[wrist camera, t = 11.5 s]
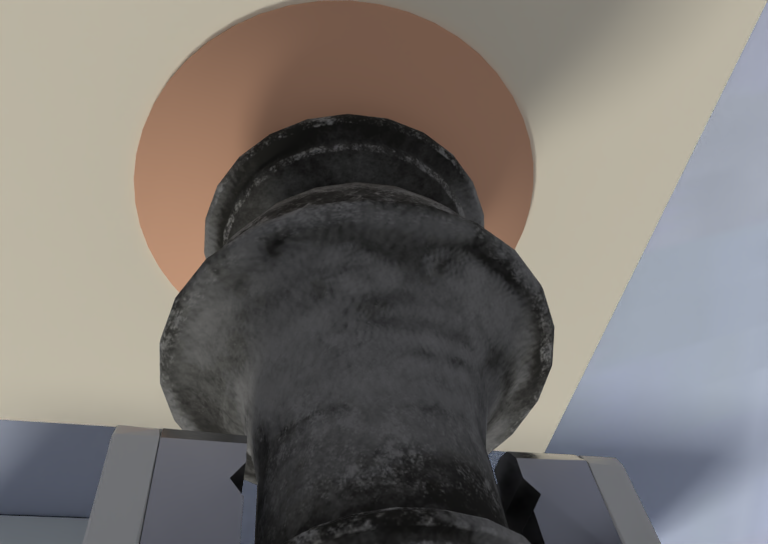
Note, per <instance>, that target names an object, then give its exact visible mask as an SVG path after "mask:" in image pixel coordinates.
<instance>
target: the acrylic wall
mask: <svg viewBox="0 0 768 544" xmlns="http://www.w3.org/2000/svg"><path fill="white" fill-rule="evenodd" d="M88 521H89V519H87V518H60V517H34V516H7V515H0V544H82V543H83V540H84V536H85V532H86V529H87V525H88Z"/></svg>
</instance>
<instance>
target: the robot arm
mask: <svg viewBox="0 0 768 544" xmlns="http://www.w3.org/2000/svg"><path fill="white" fill-rule="evenodd" d="M246 452H247V436H245V435H234V434H223V433H212V432H201V431H190V430H178V429H167V428H163V430H162V429H161V428H149V427H137V426H125V425H117V427H116V429H115V431H114V432H113V434H112V436H111V440H110V443H109V447H108V451H107V455H106V458H105V462H104V466H103V469H102V473H101V477H100V480H99V484H98V488H97V492H96V495H95V499H94V503H93V506H92V510H91V514H90V517H89V521H88V525H87V529H86V532H85V536H84V540H83V543H82V544H240V539H241V526H242V513H243V500H244V497H243V495H242V494H241V493H242V486H243V479H244V472H245V465H246ZM494 471H495V475H496V479H497V482H498V484H496V485H497V488H498V492H499V495H500V499H501V502H502V506H503V509H504V513H505V516H506V520H507V523H508V527H509V529H510V530H512V531H514V532H516V533H518V534H520V535H523V536H524V537H525V538H526V539H527V540H528V541H529V542H530V543H531V544H661V543H660V540H659V538H658V536H657V534H656V532H655V530H654V528H653V526H652V524H651V522H650V520H649V518H648V516H647V514H646V512H645V510H644V508H643V505H642V503H641V501H640V499H639V497H638V495H637V493H636V491H635V489H634V487H633V485H632V483H631V481H630V479H629V477H628V475H627V473H626V470H625V468H624V466H623V465H622V464H621V463H620V462H619V461H618V460H617V459H616V458H611V457H595V456H576V455H568V454H548V453H529V452H510V451H507V452H506V453H505V454H504V455H502V456H501V457H500V459H499V461H498V463H497V465H496V468H495V470H494Z"/></svg>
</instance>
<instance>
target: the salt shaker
mask: <svg viewBox="0 0 768 544" xmlns="http://www.w3.org/2000/svg"><path fill="white" fill-rule="evenodd" d="M204 254H205V258H206V260H205V261H204V262H203V263H202V265H201V266H200V267H199V268H198V270H197V271H196V272H195V273H194V275H193V276H192V277H191V279H190V280H189V281H188V282H187V284H186V285H185V286H184V287H183V289H182V290H181V291H180V292H179V294H178V295H177V296H176V297H175V300H174V303H173V306H172V308H171V311H170V314H169V317H168V319H167V322H166V325H165V328H164V330H163V333H162V336H161V339H160V343H159V345H160V385H161V388H162V390H163V393H164V395H165V398H166V401H167V403H168V406H169V408H170V411H171V413H172V416H173V419H174V420H175V422H176V423H177V424H178V425H179V427H180V428H181V429H182V430H190V431H201V432H212V433H223V434H234V435H245V436H247V452H246V465H245V472H244V480H247V481H249V482H252V483H254V484H256V485H257V504H256V525H255V544H531V543H530V542H529V541H528V540H527V539H526V538H525V537H524V536H523V535H520V534H518V533H516V532H514V531H512V530H510V529H509V527H508V523H507V520H506V516H505V513H504V509H503V506H502V502H501V499H500V495H499V492H498V488H497V485H496V481H495V478H494V474H493V471H492V467H491V464H490V460H489V457H488V454H489V453H491V452H492V451H493V450H494V449H495V448H497V447H498V446H499V445H500V444H502V443H503V442H504V441H505V440H506V439H508V438H509V437H510V436H511V435H512V434H513V433H514V432H515V430H516V429H517V428H518V427H519V425H520V424H521V423H522V421H523V420H524V419H525V417H526V416H527V415H528V413H529V412H530V411H531V409H532V408H533V407H534V406H535V404H536V403H537V402H538V400H539V397H540V395H541V392H542V390H543V387H544V385H545V382H546V380H547V377H548V375H549V372H550V370H551V367H552V362H553V345H554V329H555V327H554V324H553V320H552V317H551V314H550V310H549V307H548V304H547V300H546V297H545V294H544V290H543V288H542V286H541V284H540V283H539V281H538V280H537V279H536V277H535V276H534V275H533V273H532V272H531V271H530V269H529V268H528V267H527V265H526V264H525V263H524V261H523V260H522V259H521V257H520V256H519V254H518V253H517V252H516V250H514V249H513V248H511V247H510V246H509V245H507V244H506V243H504V242H503V241H502V240H500V239H499V238H497V237H496V236H495V235H493V234H492V233H490V232H489V231H487V230H486V229H485V228H484V213H483V210H482V207H481V204H480V201H479V198H478V195H477V192H476V189H475V186H474V184H473V181H472V180H471V179H470V177H469V176H468V174H467V173H466V172H465V170H464V169H463V168H462V166H461V165H460V164H459V162H458V161H457V159H456V158H455V157H454V155H453V154H452V153H450V152H449V151H448V150H446V149H445V148H444V147H442V146H441V145H440V144H438V143H437V142H436V141H434V140H433V139H432V138H430V137H429V136H428V135H426V134H425V133H424V132H421V131H419V130H416V129H414V128H411V127H408V126H406V125H403V124H401V123H398V122H396V121H393V120H391V119H388V118H380V117H371V116H363V115H354V114H342V115H335V116H327V117H320V118H312V119H306V120H304V121H301V122H299V123H296V124H294V125H291V126H289V127H286V128H284V129H281V130H279V131H276V132H274V133H271V134H269V135H268V136H267V137H265V138H264V139H263V140H261V141H260V142H259V143H257V144H256V145H255V146H253V147H252V148H251V149H249V150H248V151H247V152H245V153H244V154H243V155H241V156H240V157H239V158H238V159H237V160H236V162H235V163H234V164H233V166H232V167H231V168H230V170H229V171H228V172H227V174H226V175H225V176H224V178H223V179H222V180H221V182H220V183H219V184H218V185H217V188H216V191H215V193H214V196H213V199H212V202H211V204H210V207H209V210H208V213H207V216H206V219H205V241H204Z"/></svg>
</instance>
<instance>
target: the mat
mask: <svg viewBox="0 0 768 544" xmlns="http://www.w3.org/2000/svg"><path fill="white" fill-rule="evenodd" d="M766 2H767V0H0V420H16V421H32V422H47V423H63V424H79V425H95V426H110V427H117V425H125V426H137V427H149V428H161V429H162V430H163V428H167V429H178V430H182V429H181V428H180V427H179V425H178V424H177V423H176V422H175V420H174V419H173V416H172V413H171V411H170V408H169V406H168V403H167V401H166V398H165V395H164V393H163V390H162V388H161V385H160V345H159V343H160V339H161V336H162V333H163V330H164V328H165V325H166V322H167V319H168V317H169V314H170V311H171V308H172V306H173V303H174V300H175V297H176V296H177V295H178V294H179V292H180V291H181V290H182V289H183V287H184V286H185V285H186V284H187V282H188V281H189V280H190V279H191V277H192V276H193V275H194V273H195V272H196V271H197V270H198V268H199V267H200V266H201V265H202V263H203V262H204V261H205V260H206V258H205V254H204V241H205V219H206V216H207V213H208V210H209V207H210V204H211V202H212V199H213V196H214V193H215V191H216V188H217V185H218V184H219V183H220V182H221V180H222V179H223V178H224V176H225V175H226V174H227V172H228V171H229V170H230V168H231V167H232V166H233V164H234V163H235V162H236V160H237V159H238V158H239V157H240V156H241V155H243V154H244V153H245V152H247V151H248V150H249V149H251V148H252V147H253V146H255V145H256V144H257V143H259V142H260V141H261V140H263V139H264V138H265V137H267V136H268V135H269V134H271V133H274V132H276V131H279V130H281V129H284V128H286V127H289V126H291V125H294V124H296V123H299V122H301V121H304V120H306V119H312V118H320V117H327V116H335V115H342V114H354V115H363V116H371V117H380V118H388V119H391V120H393V121H396V122H398V123H401V124H403V125H406V126H408V127H411V128H414V129H416V130H419V131H421V132H424V133H425V134H426V135H428V136H429V137H430V138H432V139H433V140H434V141H436V142H437V143H438V144H440V145H441V146H442V147H444V148H445V149H446V150H448V151H449V152H450V153H452V154H453V155H454V157H455V158H456V159H457V161H458V162H459V164H460V165H461V166H462V168H463V169H464V170H465V172H466V173H467V174H468V176H469V177H470V179H471V180H472V181H473V184H474V186H475V189H476V192H477V195H478V198H479V201H480V204H481V207H482V210H483V213H484V228H485V229H486V230H487V231H489V232H490V233H492V234H493V235H495V236H496V237H497V238H499V239H500V240H502V241H503V242H504V243H506V244H507V245H509V246H510V247H511V248H513V249H514V250H516V252H517V253H518V254H519V256H520V257H521V259H522V260H523V261H524V263H525V264H526V265H527V267H528V268H529V269H530V271H531V272H532V273H533V275H534V276H535V277H536V279H537V280H538V281H539V283H540V284H541V286H542V288H543V290H544V294H545V297H546V300H547V304H548V307H549V310H550V314H551V317H552V320H553V324H554V327H555V329H554V345H553V362H552V367H551V370H550V372H549V375H548V377H547V380H546V382H545V385H544V387H543V390H542V392H541V395H540V397H539V400H538V402H537V403H536V404H535V406H534V407H533V408H532V409H531V411H530V412H529V413H528V415H527V416H526V417H525V419H524V420H523V421H522V423H521V424H520V425H519V427H518V428H517V429H516V430H515V432H514V433H513V434H512V435H511V436H510V437H509V438H508V439H506V440H505V441H504V442H503V443H502V444H500V445H499V446H498V447H497V448H495V449H494V450H493V451H505V452H507V451H510V452H529V453H545V451H546V448H547V446H548V444H549V442H550V440H551V438H552V436H553V434H554V432H555V430H556V428H557V426H558V424H559V422H560V420H561V418H562V416H563V414H564V412H565V410H566V408H567V406H568V404H569V402H570V400H571V398H572V396H573V394H574V392H575V390H576V388H577V386H578V384H579V382H580V380H581V378H582V375H583V373H584V371H585V369H586V367H587V365H588V363H589V361H590V359H591V357H592V355H593V353H594V351H595V349H596V347H597V345H598V343H599V341H600V339H601V337H602V335H603V333H604V331H605V329H606V327H607V325H608V323H609V321H610V319H611V317H612V315H613V313H614V311H615V309H616V307H617V305H618V302H619V300H620V298H621V296H622V294H623V292H624V290H625V288H626V286H627V284H628V282H629V280H630V278H631V276H632V274H633V272H634V270H635V268H636V266H637V264H638V262H639V260H640V258H641V256H642V254H643V252H644V250H645V248H646V246H647V244H648V242H649V240H650V238H651V236H652V234H653V232H654V229H655V227H656V225H657V223H658V221H659V219H660V217H661V215H662V213H663V211H664V209H665V207H666V205H667V203H668V201H669V199H670V197H671V195H672V193H673V191H674V189H675V187H676V185H677V183H678V181H679V179H680V177H681V175H682V173H683V171H684V169H685V167H686V165H687V163H688V161H689V159H690V156H691V154H692V152H693V150H694V148H695V146H696V144H697V142H698V140H699V138H700V136H701V134H702V132H703V130H704V128H705V126H706V124H707V122H708V120H709V118H710V116H711V114H712V112H713V110H714V108H715V106H716V104H717V102H718V100H719V98H720V96H721V94H722V92H723V90H724V88H725V86H726V83H727V81H728V79H729V77H730V75H731V73H732V71H733V69H734V67H735V65H736V63H737V61H738V59H739V57H740V55H741V53H742V51H743V49H744V47H745V45H746V43H747V41H748V39H749V37H750V35H751V33H752V31H753V29H754V27H755V25H756V23H757V21H758V19H759V17H760V15H761V13H762V10H763V8H764V6H765V4H766Z"/></svg>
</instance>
